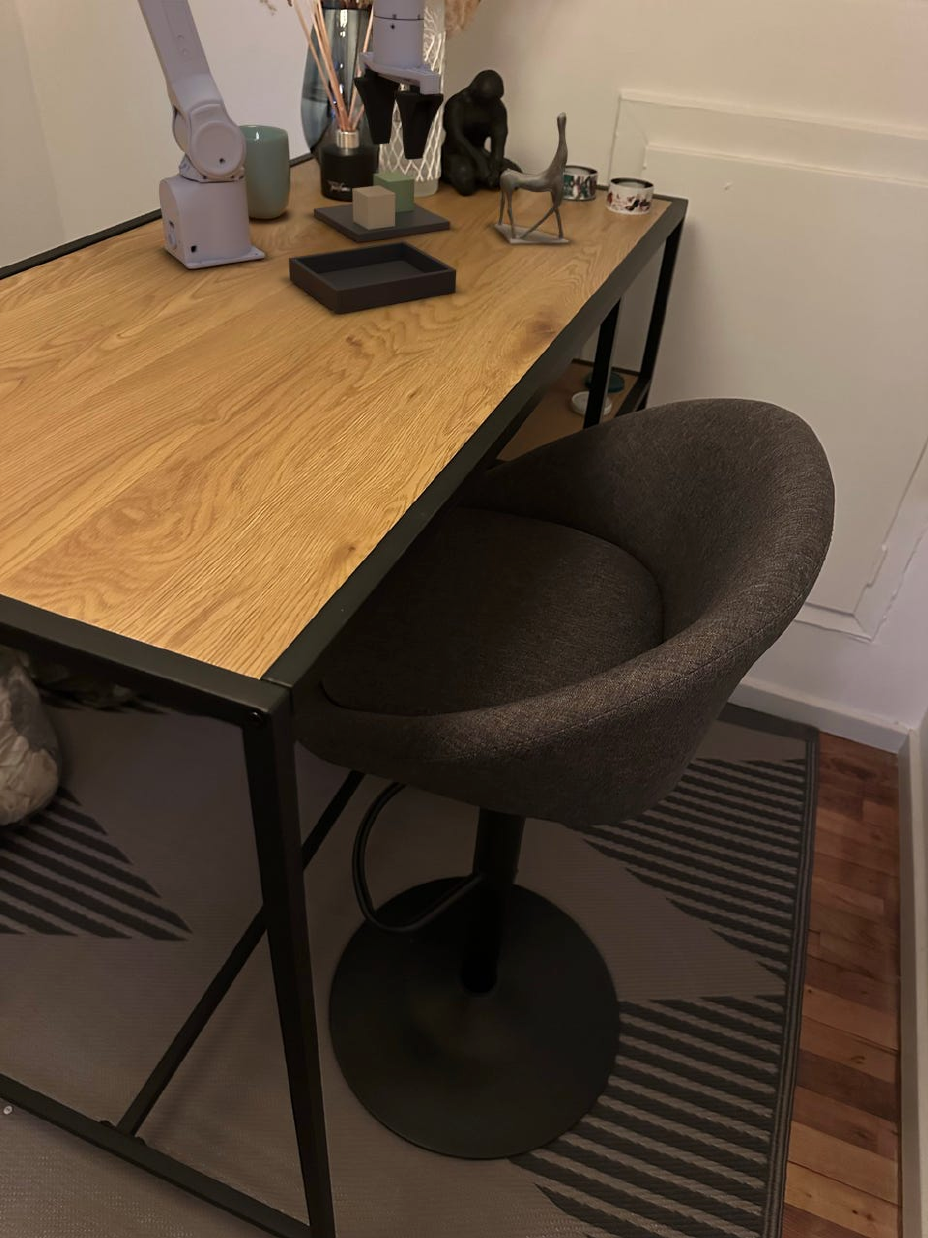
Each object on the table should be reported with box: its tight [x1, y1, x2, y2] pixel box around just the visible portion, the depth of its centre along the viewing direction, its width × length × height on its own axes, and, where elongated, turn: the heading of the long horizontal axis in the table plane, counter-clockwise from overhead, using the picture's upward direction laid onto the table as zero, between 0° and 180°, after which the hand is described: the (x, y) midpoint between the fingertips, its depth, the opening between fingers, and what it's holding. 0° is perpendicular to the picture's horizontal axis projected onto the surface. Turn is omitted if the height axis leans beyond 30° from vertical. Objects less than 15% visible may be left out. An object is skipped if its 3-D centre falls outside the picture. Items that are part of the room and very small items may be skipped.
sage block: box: [373, 171, 415, 213], centre depth 122 cm, size 4×4×4 cm
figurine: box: [493, 112, 569, 245], centre depth 115 cm, size 11×6×15 cm, turn 57°
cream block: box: [352, 185, 395, 230], centre depth 116 cm, size 4×4×4 cm
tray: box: [288, 240, 458, 315], centre depth 102 cm, size 15×11×2 cm
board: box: [313, 202, 451, 243], centre depth 121 cm, size 14×12×1 cm
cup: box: [237, 124, 292, 220], centre depth 117 cm, size 8×8×10 cm
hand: (397, 150), depth 109 cm, fingers open, 7 cm apart
